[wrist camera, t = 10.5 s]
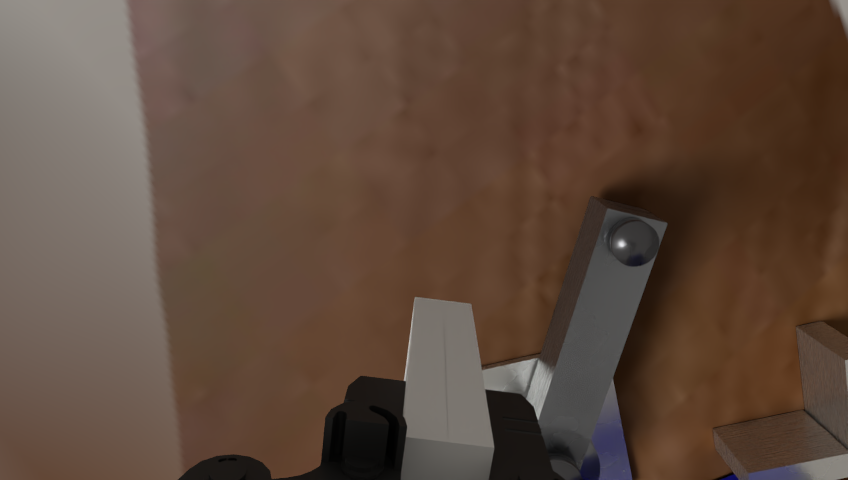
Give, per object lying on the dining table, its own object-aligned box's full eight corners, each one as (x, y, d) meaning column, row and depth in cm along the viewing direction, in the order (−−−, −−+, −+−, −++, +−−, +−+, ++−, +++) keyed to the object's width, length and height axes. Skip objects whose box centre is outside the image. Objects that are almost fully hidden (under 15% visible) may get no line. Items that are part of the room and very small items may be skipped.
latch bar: (570, 484, 31) (587, 534, 27) (485, 465, 30) (491, 513, 27) (665, 214, 27) (698, 233, 24) (570, 190, 27) (589, 206, 24)
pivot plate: (631, 480, 31) (662, 544, 27) (477, 511, 32) (484, 579, 28) (603, 339, 29) (633, 384, 25) (441, 375, 30) (442, 425, 26)
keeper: (831, 425, 30) (883, 470, 27) (715, 449, 31) (751, 496, 27) (821, 320, 29) (874, 353, 26) (700, 347, 29) (735, 383, 26)
